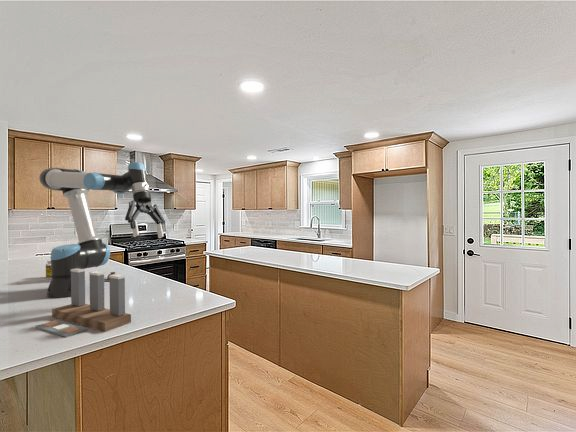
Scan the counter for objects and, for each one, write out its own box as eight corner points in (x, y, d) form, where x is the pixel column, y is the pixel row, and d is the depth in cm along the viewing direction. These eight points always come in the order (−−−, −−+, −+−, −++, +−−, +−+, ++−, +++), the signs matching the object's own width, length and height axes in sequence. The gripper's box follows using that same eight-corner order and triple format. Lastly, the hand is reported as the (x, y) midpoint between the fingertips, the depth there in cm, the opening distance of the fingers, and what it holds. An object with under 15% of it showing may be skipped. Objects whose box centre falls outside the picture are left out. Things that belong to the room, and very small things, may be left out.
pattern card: (35, 327, 114) (35, 325, 114) (57, 321, 121) (57, 319, 121) (65, 337, 106) (65, 334, 106) (86, 330, 112) (86, 327, 112)
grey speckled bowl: (98, 280, 188) (98, 272, 188) (120, 276, 197) (120, 269, 197) (104, 283, 180) (104, 275, 180) (127, 280, 188) (127, 272, 188)
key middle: (96, 307, 127) (95, 271, 127) (104, 309, 125) (104, 272, 124) (89, 308, 125) (89, 272, 124) (98, 311, 123) (97, 273, 122)
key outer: (116, 311, 122) (115, 274, 121) (125, 313, 120) (124, 275, 119) (109, 313, 119) (109, 275, 119) (118, 316, 117) (118, 276, 117)
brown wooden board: (52, 316, 125) (51, 309, 125) (78, 309, 134) (78, 302, 134) (105, 331, 111) (105, 323, 111) (131, 322, 120) (130, 314, 120)
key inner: (77, 302, 133) (77, 268, 132) (85, 304, 130) (84, 269, 130) (71, 304, 130) (70, 269, 130) (78, 306, 128) (78, 270, 127)
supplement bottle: (43, 278, 189) (43, 261, 188) (48, 276, 194) (48, 259, 194) (54, 278, 190) (54, 260, 190) (59, 276, 195) (58, 259, 195)
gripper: (122, 185, 140) (130, 232, 135) (167, 195, 162) (175, 235, 157) (111, 192, 143) (118, 237, 138) (157, 200, 165) (164, 240, 160)
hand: (149, 236), depth 147 cm, fingers open, 13 cm apart
